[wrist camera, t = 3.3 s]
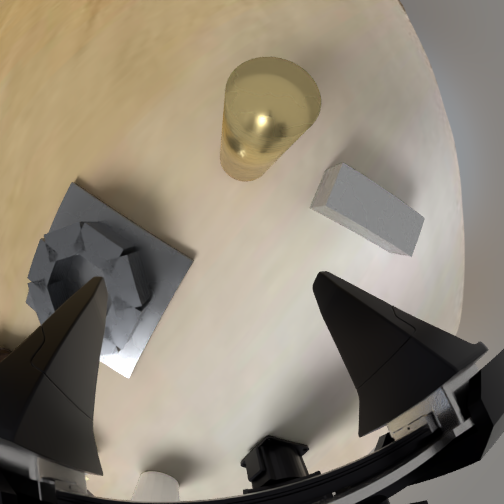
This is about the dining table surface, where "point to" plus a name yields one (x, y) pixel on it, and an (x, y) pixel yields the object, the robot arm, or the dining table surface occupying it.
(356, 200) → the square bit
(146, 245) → the socket block
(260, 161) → the pale yellow tall bar
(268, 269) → the dining table surface
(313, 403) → the dining table surface
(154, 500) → the shot glass
